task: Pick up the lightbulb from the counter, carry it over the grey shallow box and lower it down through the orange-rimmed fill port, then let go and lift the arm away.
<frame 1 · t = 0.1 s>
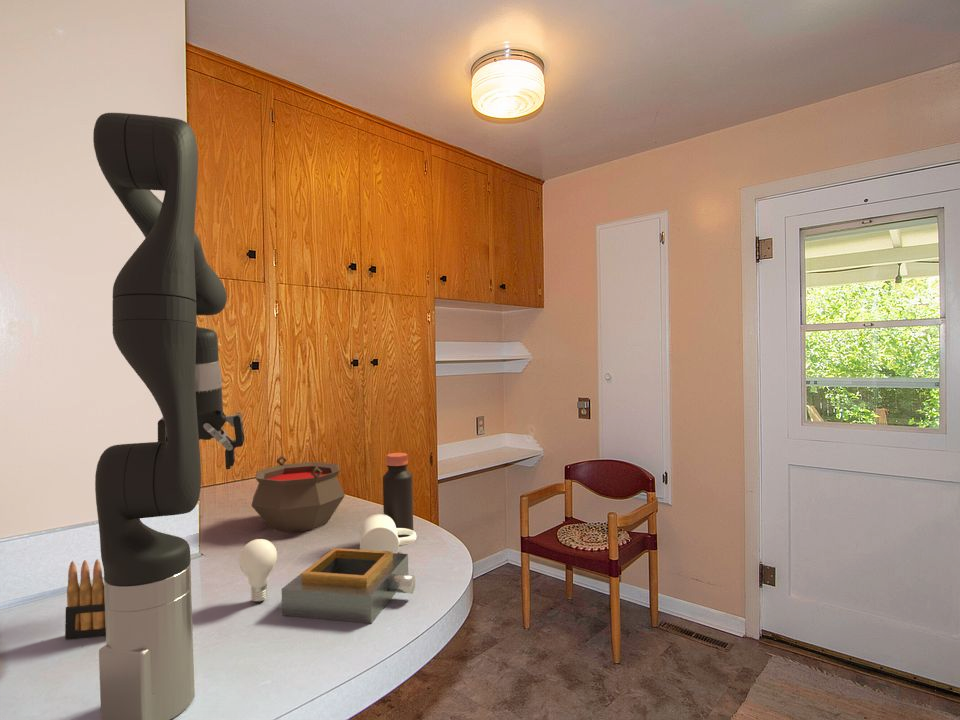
hand: (204, 469, 102), 22 cm above the countertop, tool pointing down, fingers open, 8 cm apart
brown cauldron: (299, 524, 139), on the countertop
lightbulb: (259, 602, 96), on the countertop
grey shallow box: (350, 594, 98), on the countertop
bottle: (398, 541, 126), on the countertop
mug: (388, 556, 117), on the countertop
ammunition clip: (105, 634, 86), on the countertop
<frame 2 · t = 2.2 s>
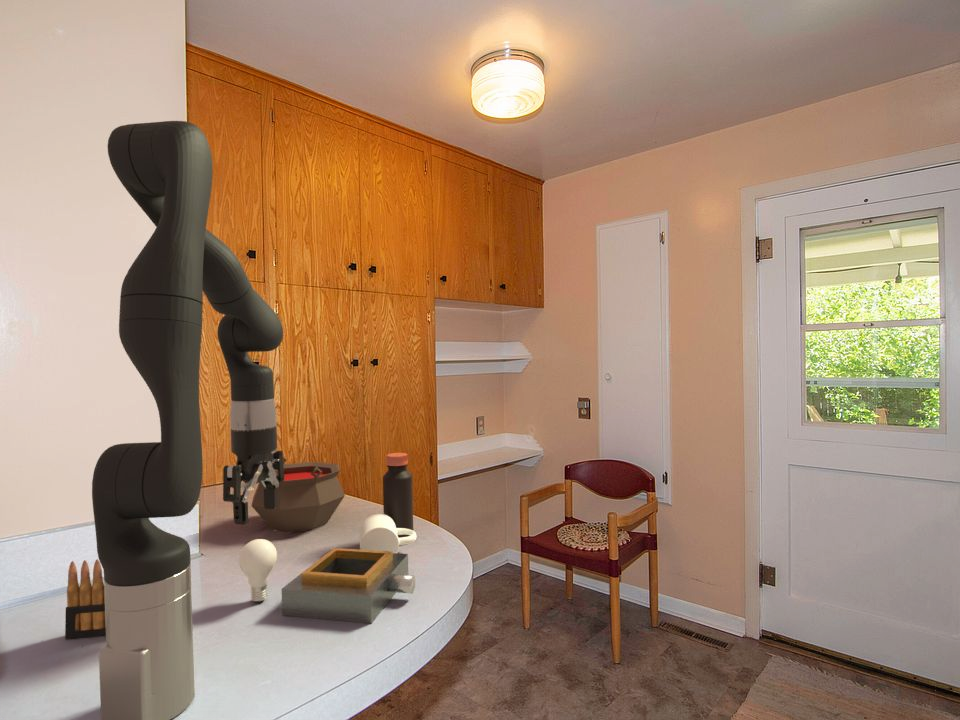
hand: (256, 515, 96), 15 cm above the countertop, tool pointing down, fingers open, 8 cm apart
nothing on the countertop moved.
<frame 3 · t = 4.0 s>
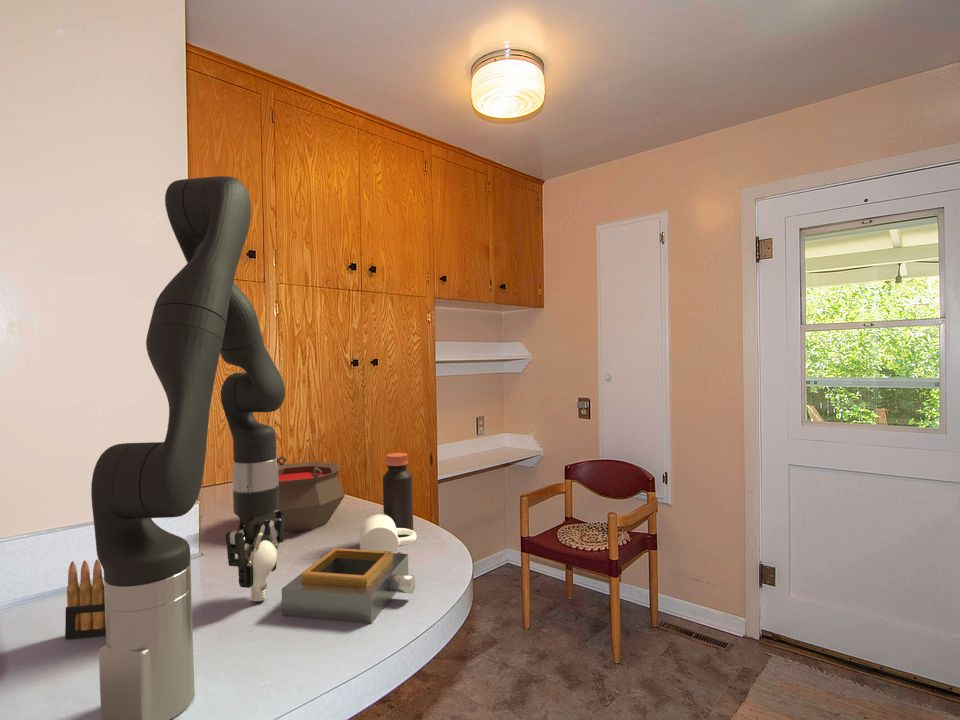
hand: (258, 577, 96), 4 cm above the countertop, tool pointing down, fingers closed on lightbulb, 6 cm apart
lightbulb: (259, 602, 96), on the countertop, touching gripper
everything else where it was.
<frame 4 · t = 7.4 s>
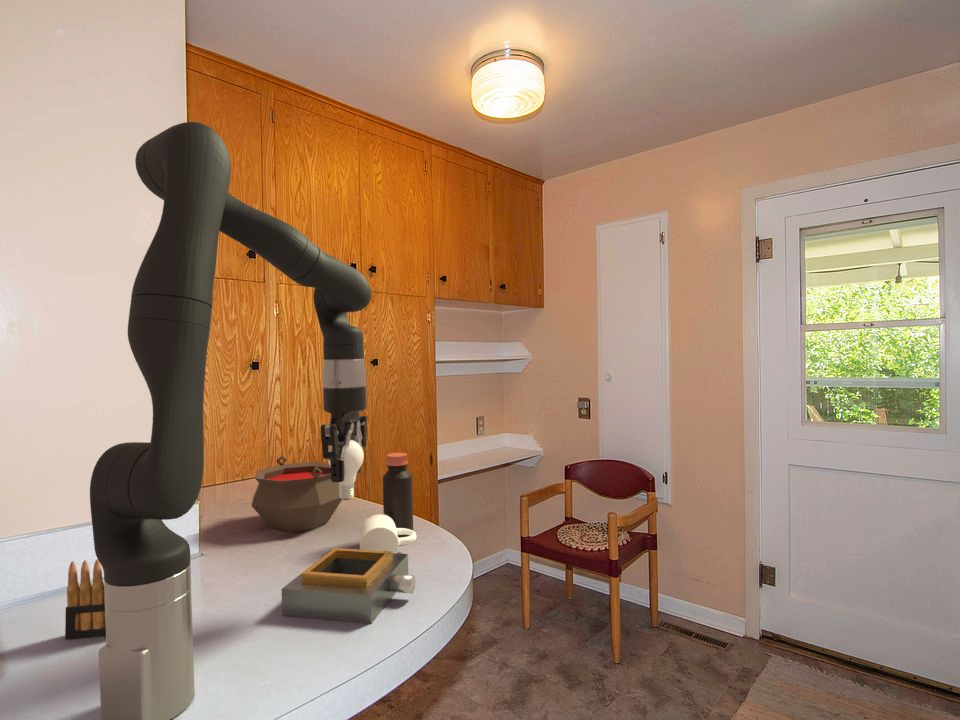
hand: (346, 476, 97), 22 cm above the countertop, tool pointing down, fingers closed on lightbulb, 6 cm apart
lightbulb: (346, 501, 97), point 17 cm above the countertop, touching gripper
everything else where it was.
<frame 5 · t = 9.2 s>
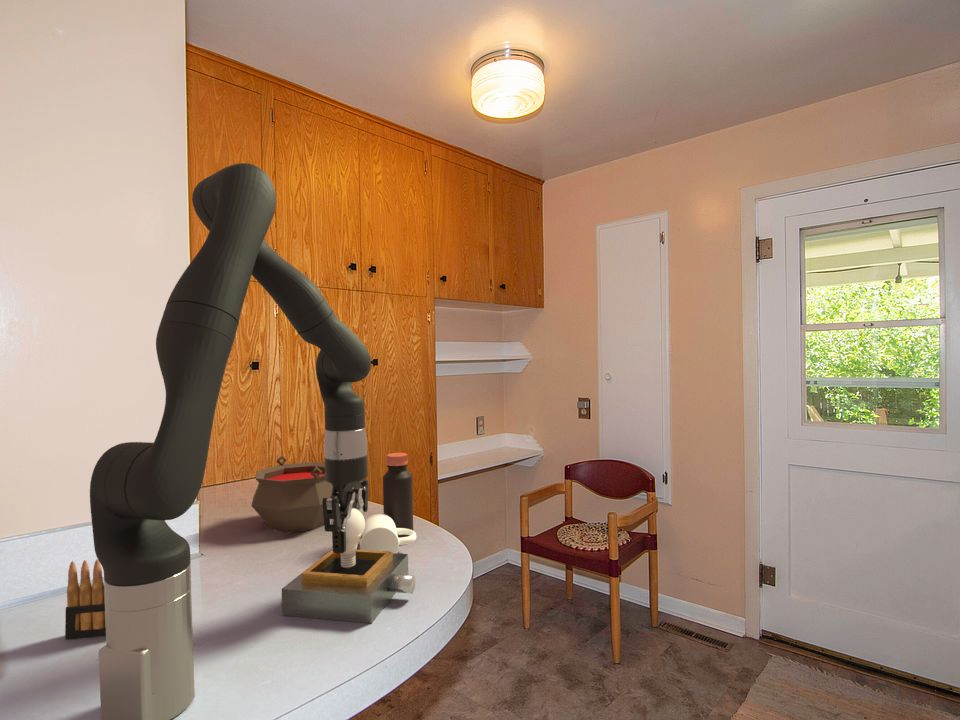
hand: (348, 545, 98), 9 cm above the countertop, tool pointing down, fingers closed on lightbulb, 6 cm apart
lightbulb: (348, 568, 98), point 5 cm above the countertop, touching gripper
everything else where it was.
when the fingers open (7 cm above the countertop, at t = 10.8 s): lightbulb drops 2 cm, resting on grey shallow box.
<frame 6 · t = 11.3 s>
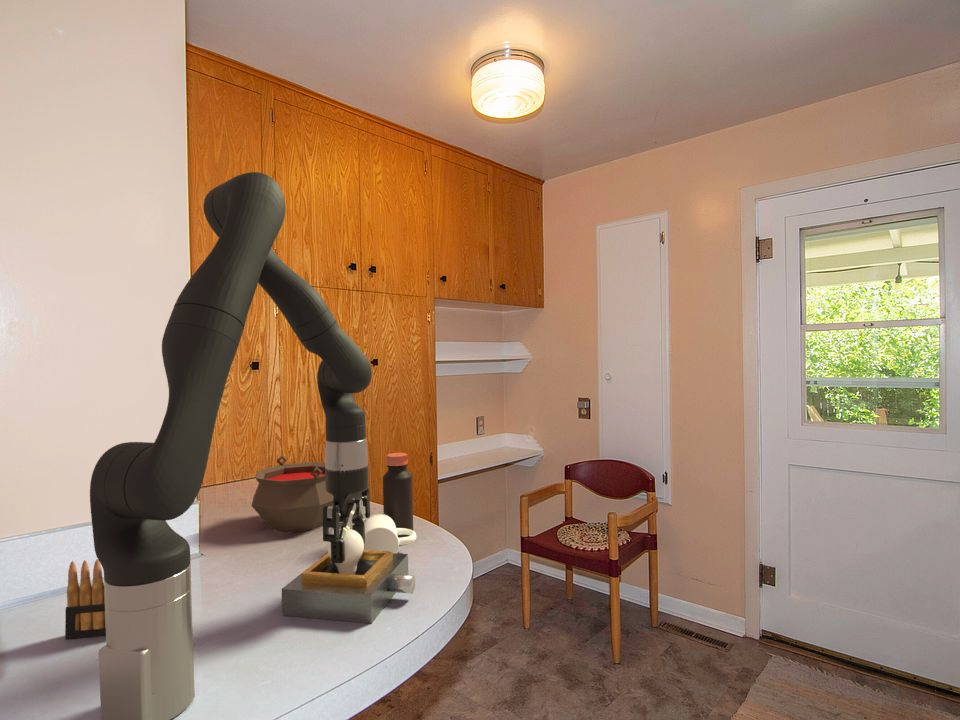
hand: (348, 553, 98), 8 cm above the countertop, tool pointing down, fingers open, 8 cm apart
lightbulb: (348, 590, 98), point 1 cm above the countertop, touching grey shallow box
everything else where it was.
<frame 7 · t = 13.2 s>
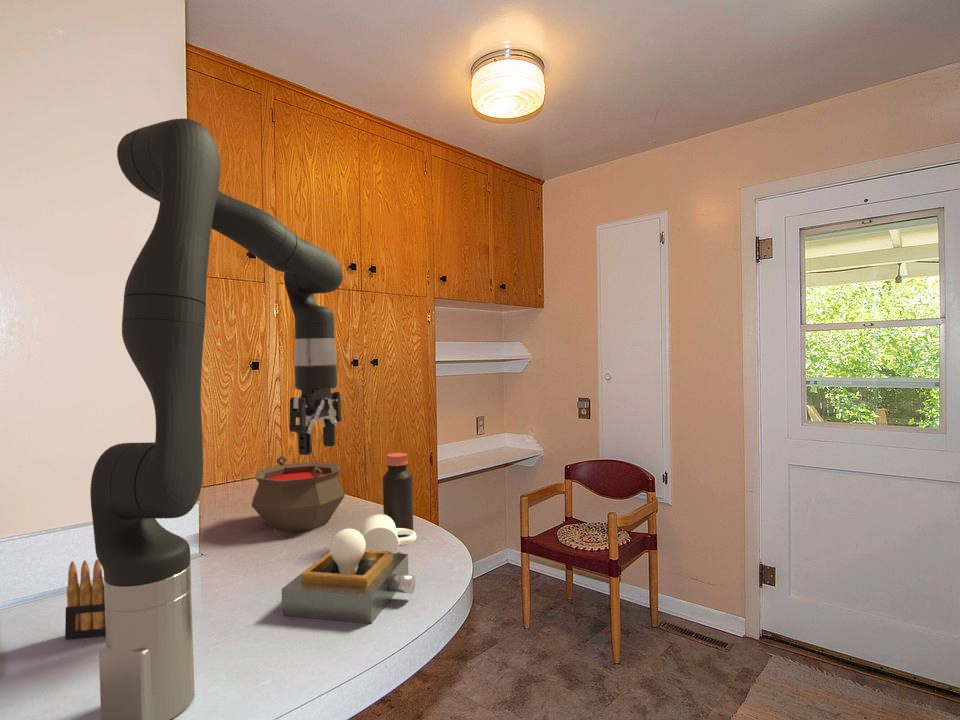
hand: (318, 450, 101), 26 cm above the countertop, tool pointing down, fingers open, 8 cm apart
nothing on the countertop moved.
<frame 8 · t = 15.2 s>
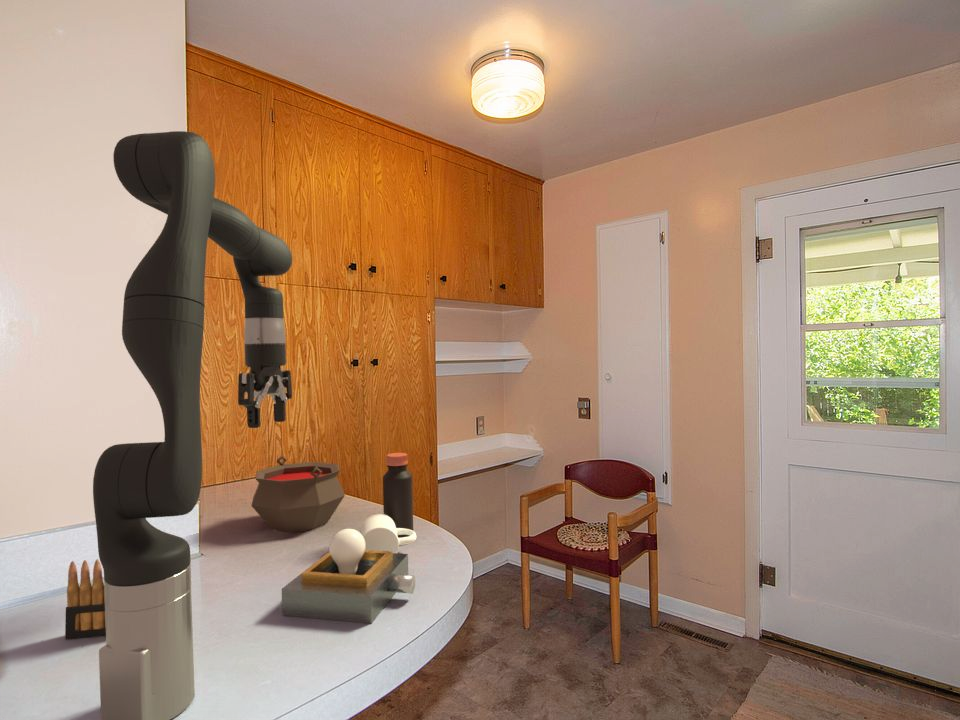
hand: (267, 424, 106), 30 cm above the countertop, tool pointing down, fingers open, 8 cm apart
nothing on the countertop moved.
at the end: lightbulb 0.2 cm off-centre on the grey shallow box, point 0.8 cm above the grey shallow box's base; lightbulb tilted 0°; the gripper is holding nothing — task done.
